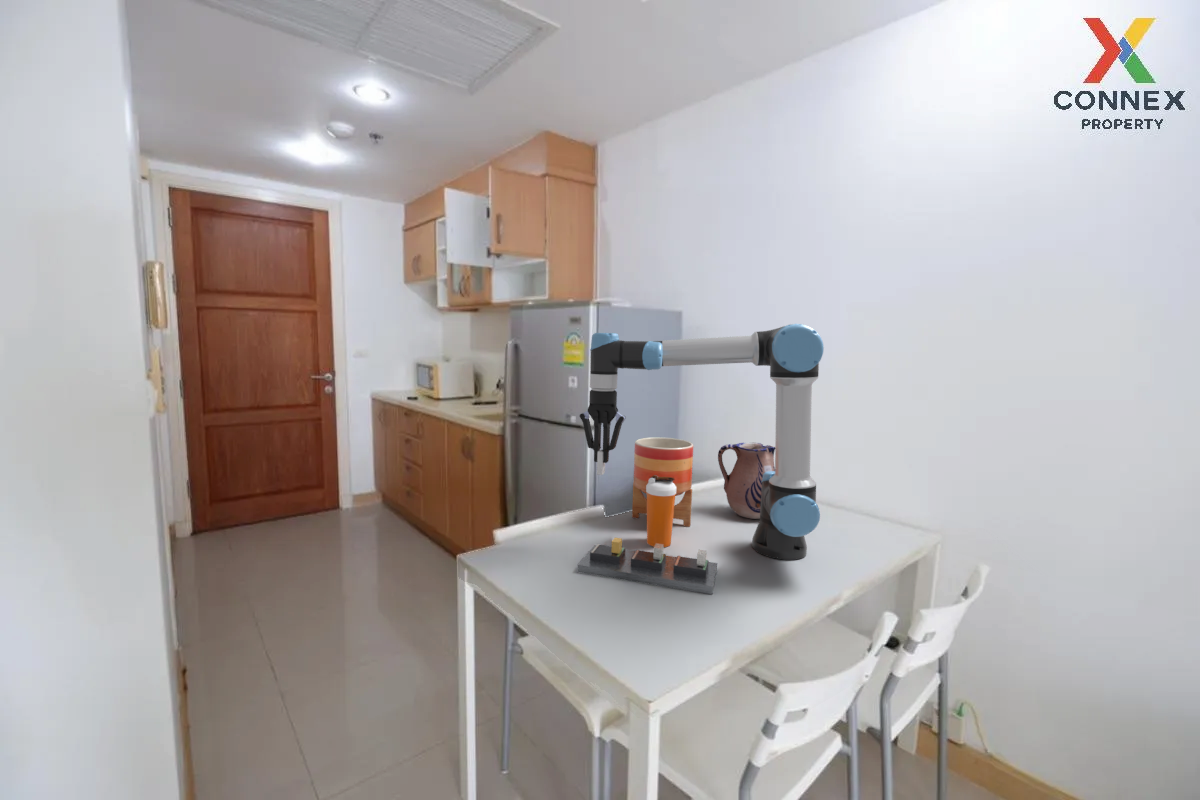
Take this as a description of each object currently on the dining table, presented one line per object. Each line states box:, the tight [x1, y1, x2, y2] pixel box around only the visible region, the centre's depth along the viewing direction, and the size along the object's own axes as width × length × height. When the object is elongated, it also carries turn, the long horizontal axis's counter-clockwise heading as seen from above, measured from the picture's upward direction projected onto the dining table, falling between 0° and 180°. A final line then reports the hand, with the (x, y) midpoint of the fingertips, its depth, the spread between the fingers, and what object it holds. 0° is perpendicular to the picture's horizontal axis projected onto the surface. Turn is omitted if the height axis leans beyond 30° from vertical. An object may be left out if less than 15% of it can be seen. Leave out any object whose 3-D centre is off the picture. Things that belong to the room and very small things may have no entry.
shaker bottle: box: [645, 475, 676, 548], centre depth 152 cm, size 9×9×20 cm
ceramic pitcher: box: [717, 442, 775, 520], centre depth 180 cm, size 18×21×25 cm
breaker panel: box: [576, 543, 718, 595], centre depth 134 cm, size 34×14×7 cm, turn 73°
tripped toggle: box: [611, 537, 623, 554], centre depth 136 cm, size 2×3×3 cm, turn 163°
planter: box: [631, 436, 694, 528], centre depth 171 cm, size 20×20×27 cm
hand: (600, 473), depth 144 cm, fingers closed
